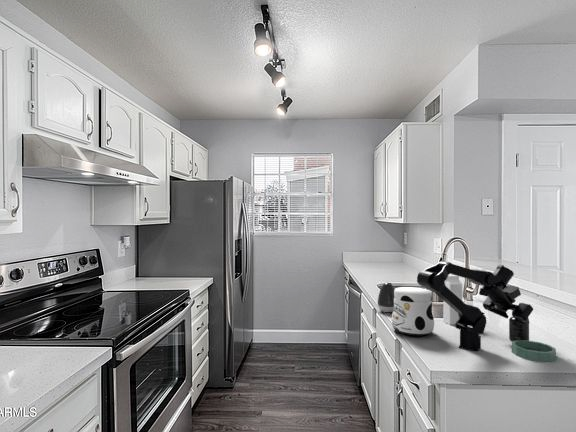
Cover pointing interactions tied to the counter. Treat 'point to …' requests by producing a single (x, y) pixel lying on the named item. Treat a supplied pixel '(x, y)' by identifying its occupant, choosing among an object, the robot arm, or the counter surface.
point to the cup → (534, 350)
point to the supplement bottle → (518, 329)
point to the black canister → (386, 298)
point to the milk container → (413, 311)
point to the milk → (456, 287)
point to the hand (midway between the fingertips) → (517, 320)
